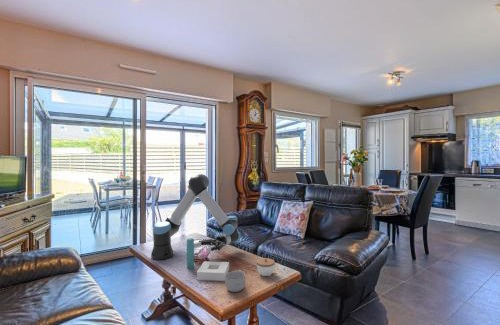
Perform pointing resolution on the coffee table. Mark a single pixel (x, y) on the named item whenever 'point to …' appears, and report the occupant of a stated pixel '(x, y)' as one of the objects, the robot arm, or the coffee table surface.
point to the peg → (190, 253)
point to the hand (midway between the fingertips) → (199, 248)
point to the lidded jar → (265, 266)
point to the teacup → (235, 280)
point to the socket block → (213, 271)
